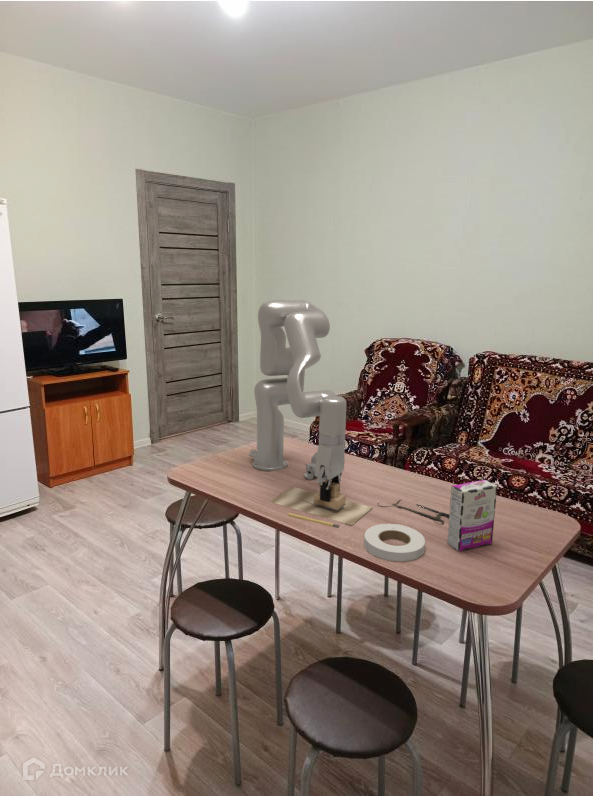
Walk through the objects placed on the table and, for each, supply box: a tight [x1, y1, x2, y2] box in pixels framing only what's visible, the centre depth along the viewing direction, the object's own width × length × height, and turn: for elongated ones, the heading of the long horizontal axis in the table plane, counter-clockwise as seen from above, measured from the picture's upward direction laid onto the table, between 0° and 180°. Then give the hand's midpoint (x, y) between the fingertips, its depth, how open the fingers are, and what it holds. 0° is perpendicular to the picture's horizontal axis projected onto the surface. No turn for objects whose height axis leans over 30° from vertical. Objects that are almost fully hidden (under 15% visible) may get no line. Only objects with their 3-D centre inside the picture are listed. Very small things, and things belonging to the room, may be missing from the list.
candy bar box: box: [447, 479, 498, 552], centre depth 140 cm, size 11×5×16 cm, turn 114°
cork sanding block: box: [314, 480, 347, 511], centre depth 161 cm, size 8×5×6 cm, turn 58°
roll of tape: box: [363, 523, 426, 563], centre depth 140 cm, size 16×15×3 cm
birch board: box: [268, 486, 374, 527], centre depth 164 cm, size 28×14×1 cm, turn 58°
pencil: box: [287, 512, 340, 529], centre depth 153 cm, size 16×1×1 cm, turn 63°
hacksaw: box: [377, 499, 450, 525], centre depth 160 cm, size 24×10×2 cm, turn 43°
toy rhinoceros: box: [303, 452, 327, 481], centre depth 186 cm, size 7×12×8 cm, turn 128°
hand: (329, 496), depth 161 cm, fingers closed on cork sanding block, 4 cm apart
